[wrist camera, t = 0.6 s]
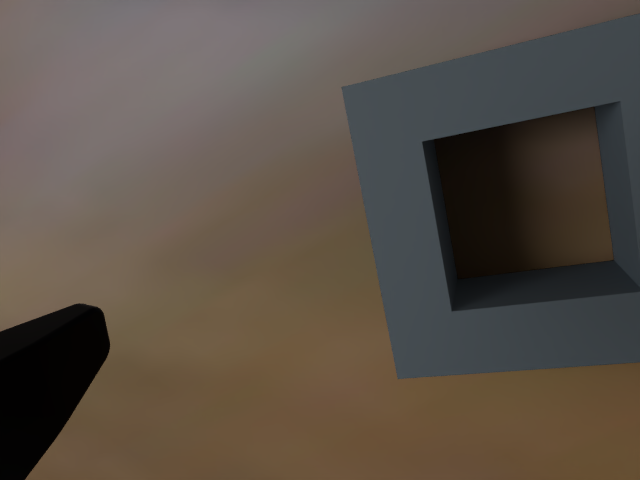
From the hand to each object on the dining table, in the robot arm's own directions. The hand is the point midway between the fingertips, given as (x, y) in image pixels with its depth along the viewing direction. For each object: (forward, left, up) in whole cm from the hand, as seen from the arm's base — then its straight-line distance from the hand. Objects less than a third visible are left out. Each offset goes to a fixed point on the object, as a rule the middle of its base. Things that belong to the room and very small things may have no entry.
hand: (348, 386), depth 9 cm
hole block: (+1, -3, -14) cm, 14 cm away
